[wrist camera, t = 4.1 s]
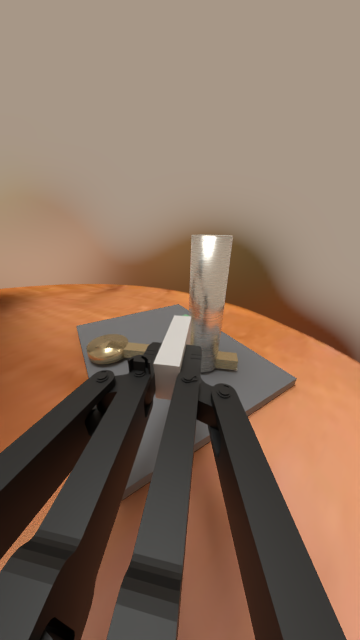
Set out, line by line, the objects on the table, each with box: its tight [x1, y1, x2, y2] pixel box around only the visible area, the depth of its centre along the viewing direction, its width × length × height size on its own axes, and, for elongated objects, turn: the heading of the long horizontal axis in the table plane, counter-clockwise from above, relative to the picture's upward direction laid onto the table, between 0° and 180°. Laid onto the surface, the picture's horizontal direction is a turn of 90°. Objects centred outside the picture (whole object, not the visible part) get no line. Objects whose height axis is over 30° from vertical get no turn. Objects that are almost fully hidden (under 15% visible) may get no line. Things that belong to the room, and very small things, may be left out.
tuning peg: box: [86, 235, 238, 372], centre depth 21 cm, size 18×5×14 cm, turn 81°
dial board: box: [77, 304, 297, 501], centre depth 27 cm, size 26×20×1 cm
